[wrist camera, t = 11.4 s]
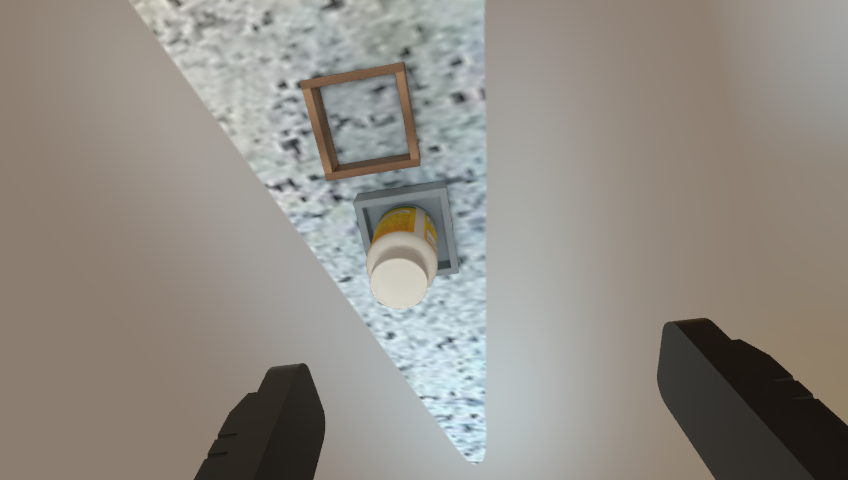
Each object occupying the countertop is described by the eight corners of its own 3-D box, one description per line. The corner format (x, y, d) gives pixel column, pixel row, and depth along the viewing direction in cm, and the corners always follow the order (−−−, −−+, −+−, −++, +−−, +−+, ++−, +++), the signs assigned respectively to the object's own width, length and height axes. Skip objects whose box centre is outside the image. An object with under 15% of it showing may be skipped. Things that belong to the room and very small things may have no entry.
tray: (357, 194, 36) (353, 202, 34) (445, 180, 35) (446, 187, 33) (376, 273, 39) (373, 284, 37) (457, 261, 38) (458, 273, 36)
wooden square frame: (309, 79, 32) (299, 81, 30) (403, 62, 31) (401, 62, 29) (333, 172, 35) (326, 181, 33) (420, 158, 34) (419, 165, 32)
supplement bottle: (447, 220, 36) (453, 272, 27) (418, 267, 38) (414, 329, 29) (394, 191, 35) (382, 235, 26) (366, 240, 37) (347, 297, 28)
